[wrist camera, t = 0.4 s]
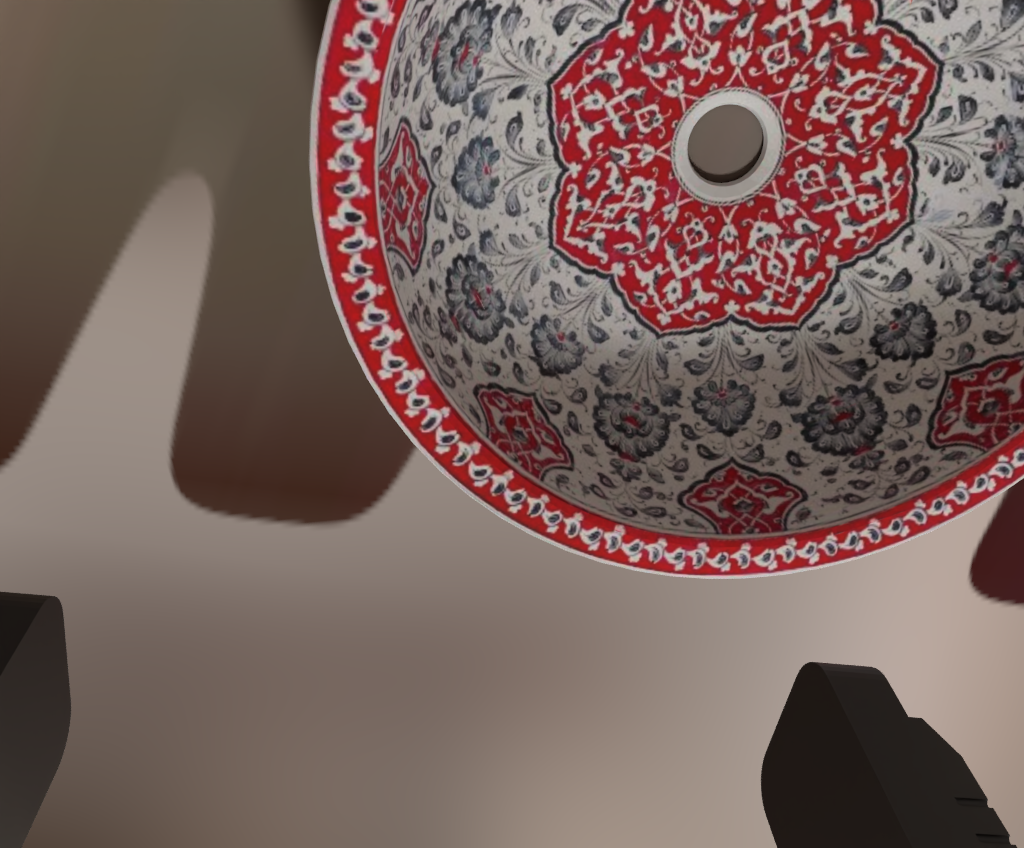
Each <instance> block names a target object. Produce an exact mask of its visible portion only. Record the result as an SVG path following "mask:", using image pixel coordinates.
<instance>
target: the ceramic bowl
mask: <svg viewBox="0 0 1024 848" xmlns="http://www.w3.org/2000/svg"><path fill="white" fill-rule="evenodd" d="M726 104H734V105H740V106H742V107H745V108H747V109H748V110H750V111H751V112H752V113H753V114H754V115H755V116H756V117H757V118H758V120H759V122H760V124H761V126H762V129H763V136H764V142H763V148H762V152H761V155H760V157H759V159H758V161H757V162H756V164H755V165H754V167H753V168H752V169H751V170H750V171H749V172H748V173H747V174H745V175H744V176H743V177H741V178H739V179H737V180H735V181H731V182H728V183H715V182H711V181H708V180H706V179H704V178H702V177H701V176H700V175H699V174H698V173H697V172H696V171H695V170H694V169H693V167H692V166H691V163H690V161H689V157H688V151H687V150H688V140H689V136H690V133H691V131H692V129H693V127H694V125H695V124H696V122H697V121H698V120H699V118H701V117H702V116H703V115H704V114H705V113H706V112H708V111H709V110H711V109H713V108H715V107H717V106H721V105H726ZM309 172H310V186H311V200H312V212H313V218H314V223H315V229H316V235H317V241H318V247H319V253H320V257H321V261H322V265H323V268H324V272H325V276H326V279H327V283H328V286H329V290H330V294H331V297H332V300H333V303H334V306H335V308H336V311H337V313H338V316H339V319H340V321H341V324H342V326H343V329H344V331H345V334H346V337H347V339H348V341H349V343H350V345H351V347H352V349H353V351H354V353H355V355H356V357H357V359H358V361H359V363H360V365H361V367H362V369H363V371H364V373H365V375H366V377H367V379H368V380H369V382H370V384H371V385H372V387H373V388H374V390H375V391H376V393H377V394H378V396H379V398H380V399H381V401H382V402H383V404H384V405H385V407H386V409H387V410H388V412H389V413H390V414H391V416H392V417H393V418H394V420H395V421H396V422H397V423H398V425H399V426H400V427H401V428H402V430H403V431H404V432H405V433H406V435H407V436H408V437H409V438H410V440H411V441H412V442H413V443H414V445H415V446H416V447H417V448H418V449H419V450H420V451H421V452H422V453H423V454H424V455H425V456H426V457H427V458H428V459H429V460H430V461H431V462H432V463H433V464H434V465H435V466H436V467H437V468H438V469H439V470H440V472H442V473H443V474H444V475H445V476H447V477H448V478H449V479H450V480H451V481H452V482H453V483H455V484H456V485H457V486H458V487H459V488H461V489H462V490H463V491H464V492H465V493H466V494H468V495H469V496H470V497H471V498H473V499H474V500H476V501H477V502H479V503H480V504H481V505H483V506H484V507H486V508H487V509H489V510H490V511H492V512H493V513H494V514H496V515H497V516H499V517H500V518H502V519H504V520H506V521H507V522H509V523H511V524H513V525H514V526H516V527H518V528H520V529H522V530H523V531H525V532H527V533H529V534H531V535H533V536H535V537H537V538H539V539H541V540H543V541H546V542H548V543H550V544H552V545H555V546H557V547H559V548H561V549H564V550H566V551H569V552H572V553H575V554H578V555H581V556H584V557H587V558H590V559H593V560H596V561H598V562H602V563H606V564H610V565H614V566H618V567H622V568H627V569H631V570H635V571H641V572H647V573H654V574H660V575H667V576H677V577H690V578H704V579H729V578H754V577H765V576H775V575H784V574H790V573H796V572H802V571H808V570H813V569H820V568H824V567H828V566H832V565H836V564H840V563H843V562H847V561H852V560H855V559H859V558H862V557H865V556H868V555H871V554H874V553H877V552H880V551H883V550H886V549H889V548H892V547H895V546H897V545H900V544H902V543H905V542H907V541H909V540H912V539H914V538H917V537H919V536H922V535H924V534H926V533H929V532H931V531H933V530H935V529H937V528H939V527H941V526H943V525H945V524H947V523H949V522H951V521H953V520H955V519H957V518H959V517H961V516H963V515H965V514H967V513H969V512H970V511H972V510H974V509H976V508H977V507H979V506H981V505H982V504H984V503H985V502H987V501H989V500H991V499H992V498H994V497H996V496H998V495H999V494H1001V493H1003V492H1004V491H1006V490H1007V489H1008V488H1010V487H1011V486H1013V485H1014V484H1016V483H1017V482H1019V481H1020V480H1021V479H1023V478H1024V0H330V3H329V6H328V11H327V15H326V20H325V24H324V29H323V33H322V37H321V42H320V46H319V51H318V55H317V60H316V68H315V76H314V84H313V92H312V100H311V108H310V134H309Z"/></svg>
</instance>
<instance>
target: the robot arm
mask: <svg viewBox="0 0 1024 848" xmlns="http://www.w3.org/2000/svg"><path fill="white" fill-rule="evenodd" d="M70 717H71V698H70V687H69V676H68V664H67V652H66V642H65V629H64V618H63V609H62V605H61V603H60V600H59V599H58V598H57V597H55V596H44V595H33V594H20V593H9V592H0V848H21V847H22V845H23V843H24V841H25V839H26V837H27V834H28V832H29V830H30V828H31V826H32V823H33V821H34V819H35V817H36V815H37V813H38V810H39V808H40V806H41V804H42V802H43V800H44V797H45V795H46V793H47V791H48V789H49V787H50V784H51V782H52V780H53V778H54V776H55V774H56V771H57V769H58V767H59V764H60V762H61V759H62V756H63V752H64V749H65V746H66V742H67V737H68V732H69V726H70ZM761 791H762V800H763V806H764V810H765V813H766V817H767V820H768V822H769V825H770V828H771V831H772V834H773V837H774V840H775V842H776V845H777V848H1017V847H1016V845H1011V844H1010V842H1009V836H1010V835H1009V834H1008V832H1007V830H1006V829H1005V827H1004V825H1003V824H1002V822H1001V820H1000V819H999V817H998V816H997V814H996V812H995V811H994V809H993V808H989V807H988V805H987V800H988V799H987V797H986V796H985V794H984V792H983V791H982V789H981V788H980V786H979V785H978V783H977V781H976V779H975V778H974V776H973V774H972V773H971V771H970V769H969V768H968V766H967V765H966V763H965V761H964V760H963V758H962V756H961V755H960V754H959V753H957V752H956V751H955V750H954V749H953V748H952V747H951V746H950V745H949V744H948V743H947V742H946V741H945V740H944V739H943V738H942V737H941V736H940V735H939V734H938V733H937V732H936V731H935V730H934V729H932V728H931V727H930V726H929V725H928V724H927V723H926V722H925V721H924V720H923V719H922V718H913V717H908V715H907V714H906V712H905V710H904V709H903V707H902V705H901V703H900V702H899V700H898V698H897V696H896V695H895V693H894V691H893V689H892V688H891V686H890V684H889V682H888V681H887V679H886V678H885V676H884V675H883V674H882V673H881V672H880V671H879V670H878V669H876V668H873V667H865V666H854V665H841V664H829V663H818V662H809V663H807V664H805V665H804V666H803V667H802V668H801V670H800V671H799V673H798V675H797V677H796V679H795V682H794V684H793V687H792V689H791V692H790V694H789V697H788V699H787V702H786V704H785V706H784V709H783V711H782V714H781V716H780V719H779V721H778V724H777V726H776V729H775V731H774V734H773V736H772V738H771V741H770V743H769V746H768V749H767V751H766V754H765V757H764V760H763V765H762V774H761Z"/></svg>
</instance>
